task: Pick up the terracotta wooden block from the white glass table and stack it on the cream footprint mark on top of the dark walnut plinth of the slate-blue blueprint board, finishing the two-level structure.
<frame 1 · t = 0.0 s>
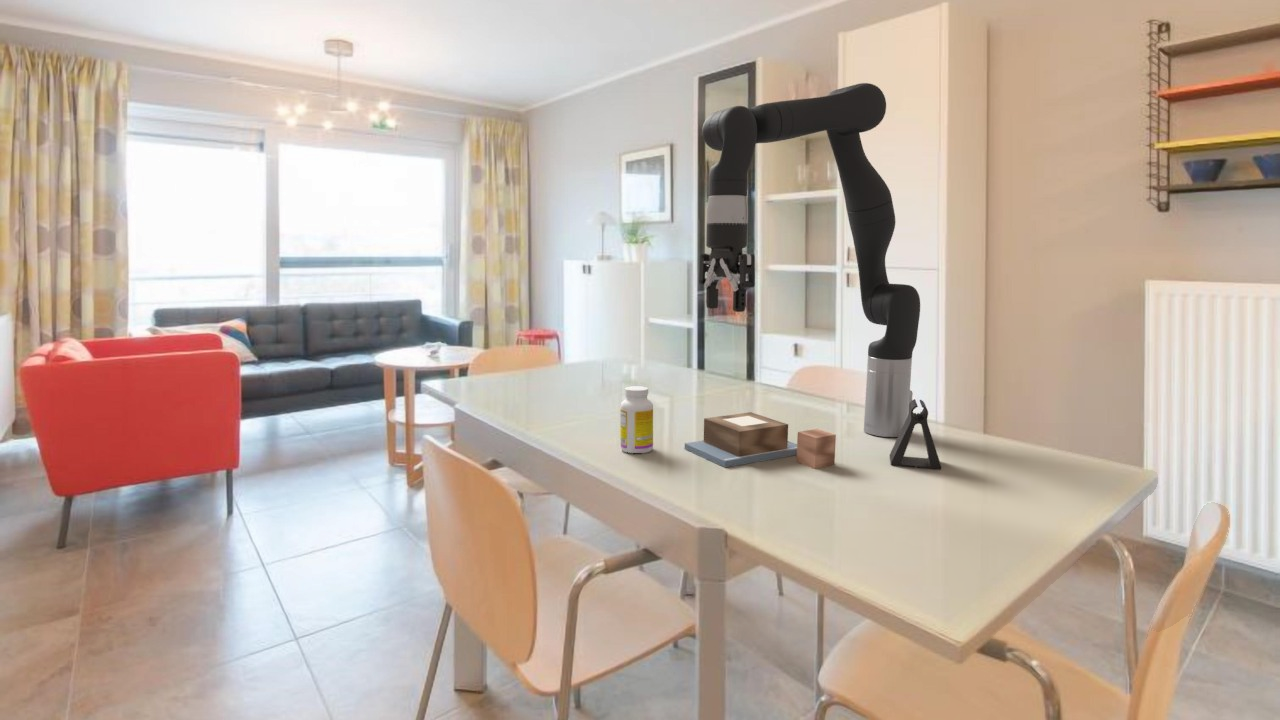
hand: (725, 309, 132), 29 cm above the table, fingers open, 8 cm apart
supplement bottle: (636, 451, 144), on the table
phone stand: (914, 464, 136), on the table
terracotta block: (815, 463, 136), on the table
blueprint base: (744, 451, 143), on the table
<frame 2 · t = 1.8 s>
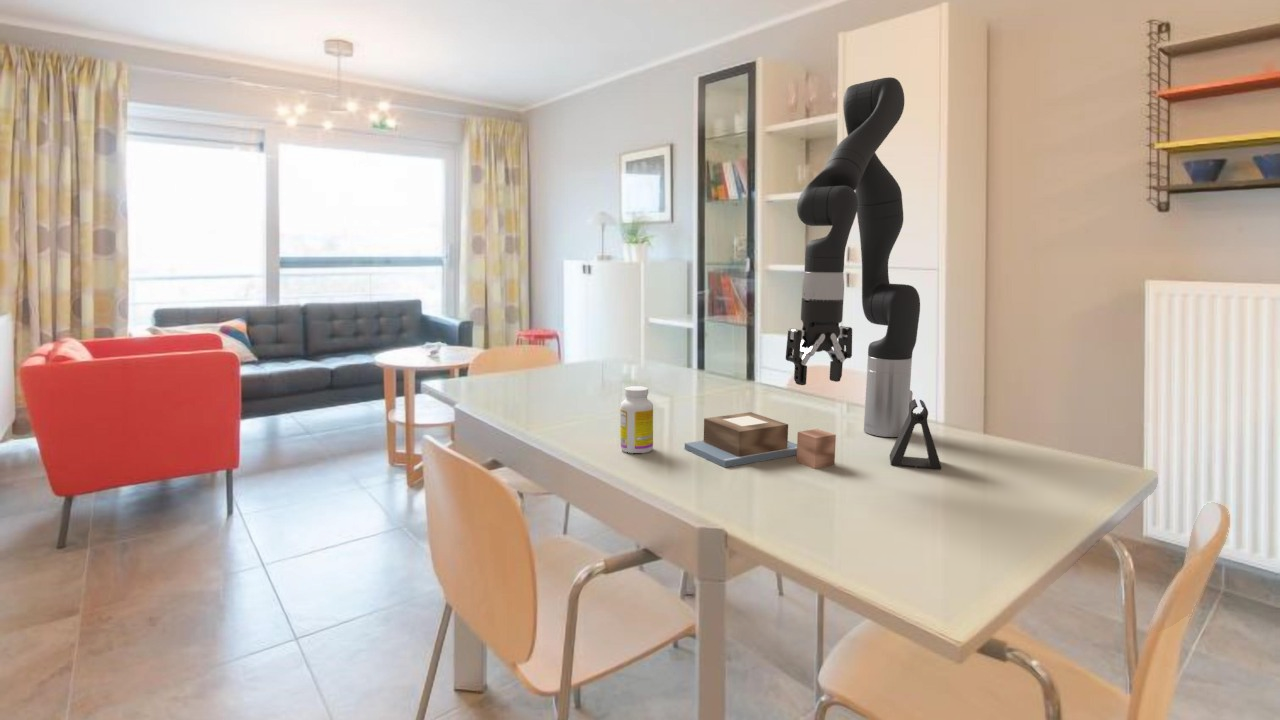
hand: (817, 382, 133), 16 cm above the table, fingers open, 8 cm apart
nothing on the table moved.
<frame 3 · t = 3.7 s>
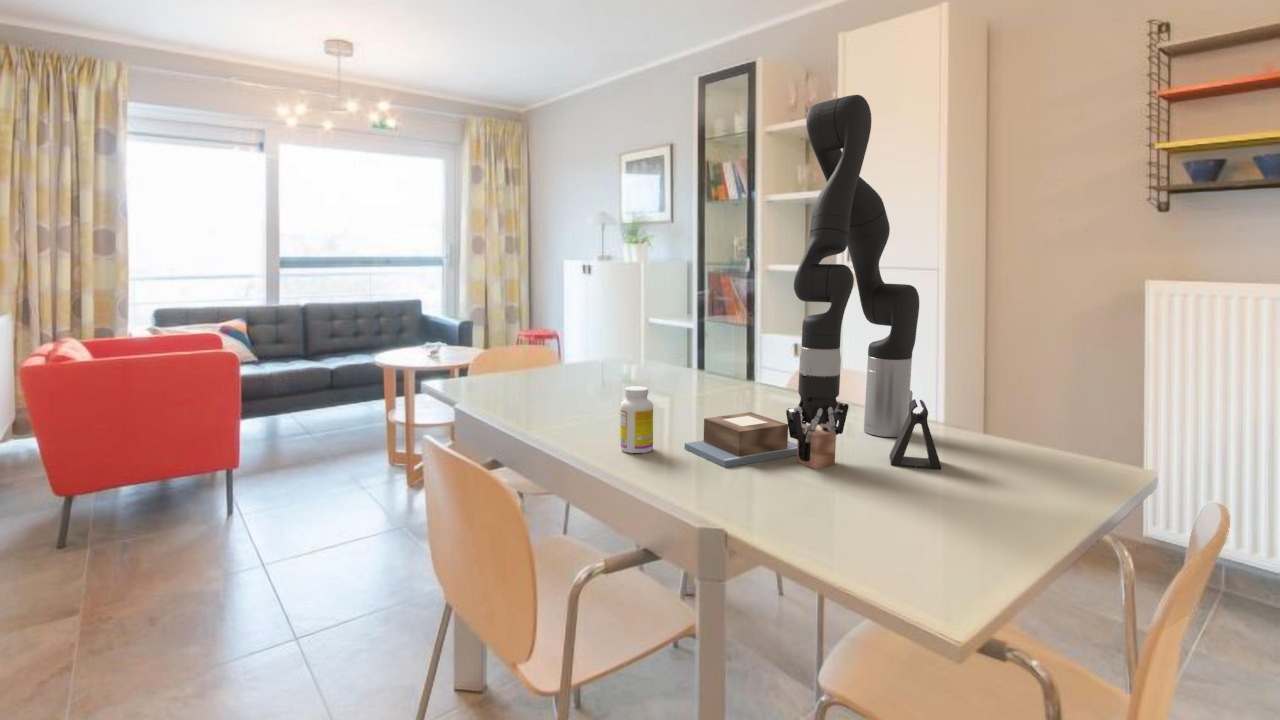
hand: (815, 457, 135), 1 cm above the table, fingers closed on terracotta block, 5 cm apart
terracotta block: (815, 463, 136), on the table, touching gripper
everything else where it was.
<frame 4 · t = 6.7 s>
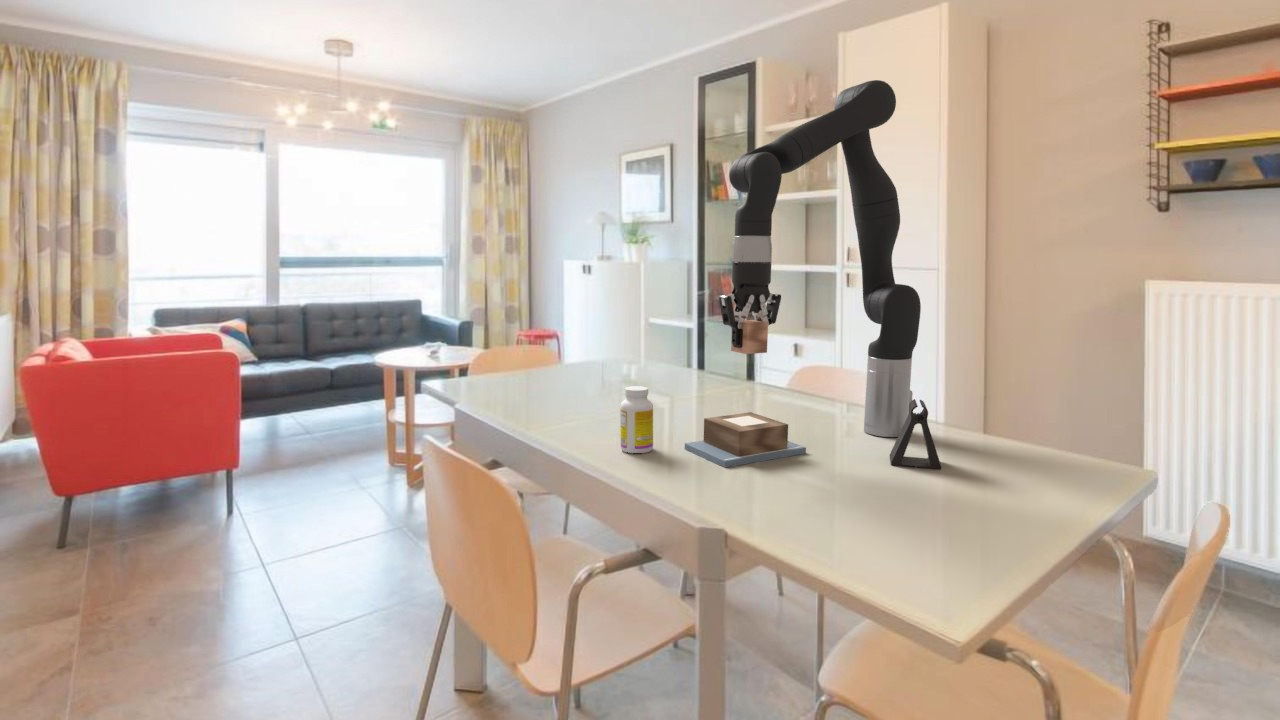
hand: (748, 346, 140), 22 cm above the table, fingers closed on terracotta block, 5 cm apart
terracotta block: (748, 351, 140), point 20 cm above the table, touching gripper
everything else where it was.
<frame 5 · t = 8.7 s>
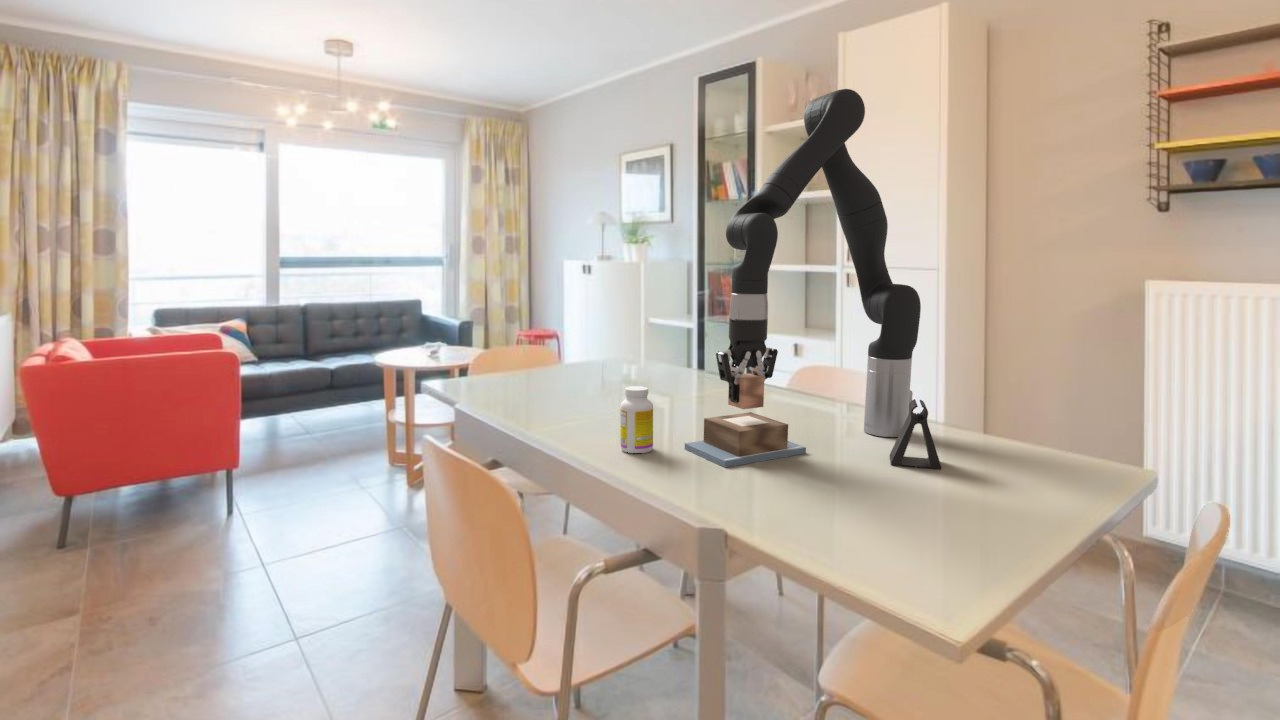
hand: (745, 400, 142), 11 cm above the table, fingers closed on terracotta block, 5 cm apart
terracotta block: (745, 405, 142), point 9 cm above the table, touching gripper
everything else where it was.
when the fingers open (8 cm above the table, at t = 10.1 s): terracotta block stays where it is, resting on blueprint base.
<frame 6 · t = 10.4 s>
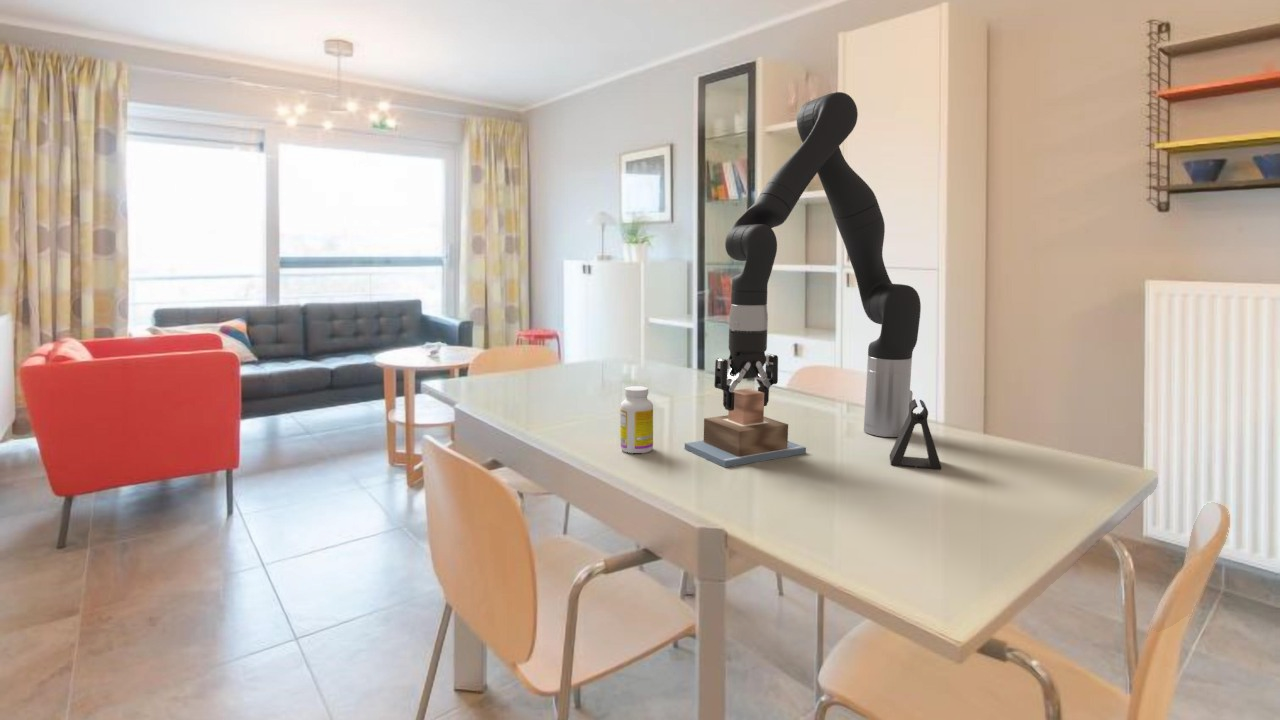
hand: (745, 407, 142), 9 cm above the table, fingers open, 8 cm apart
terracotta block: (745, 420, 142), point 6 cm above the table, touching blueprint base
everything else where it was.
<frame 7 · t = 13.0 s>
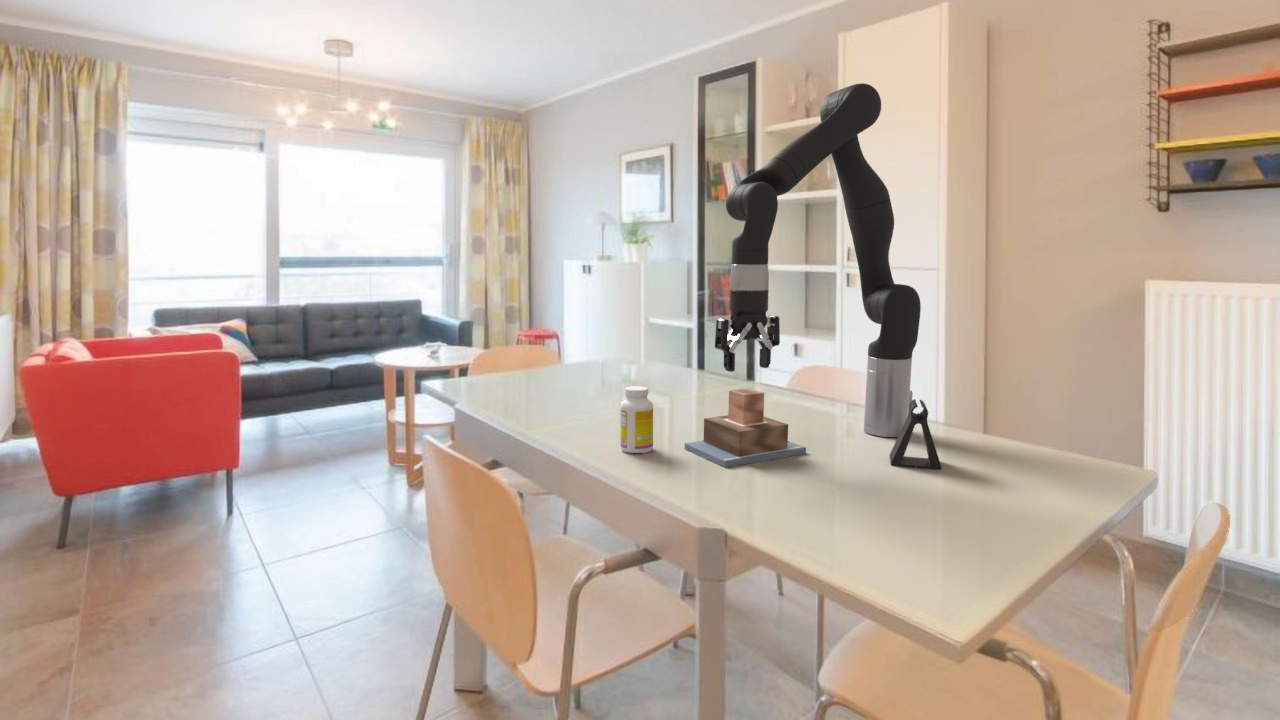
hand: (747, 369, 141), 17 cm above the table, fingers open, 8 cm apart
nothing on the table moved.
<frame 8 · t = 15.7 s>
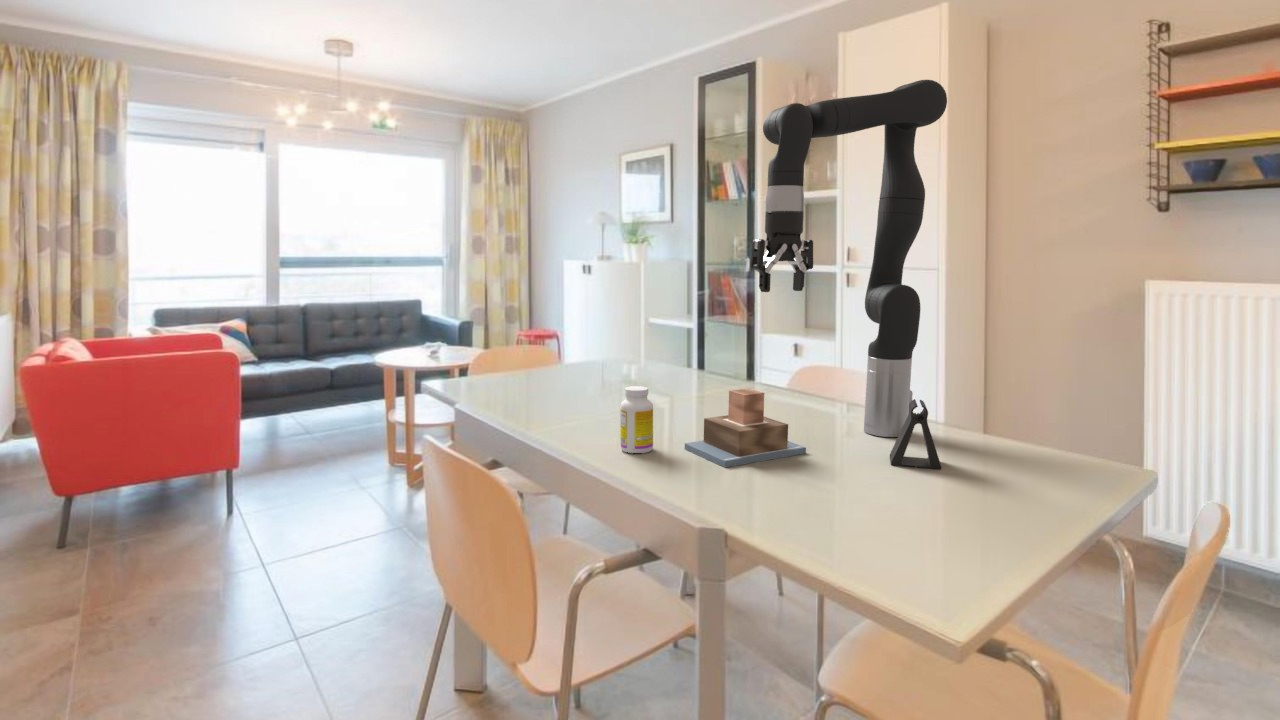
hand: (781, 291, 144), 32 cm above the table, fingers open, 8 cm apart
nothing on the table moved.
at the end: terracotta block inside the target area on the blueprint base (0.0 cm from its centre), point 6.3 cm above the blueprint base's base; terracotta block tilted 0°; the gripper is holding nothing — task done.
